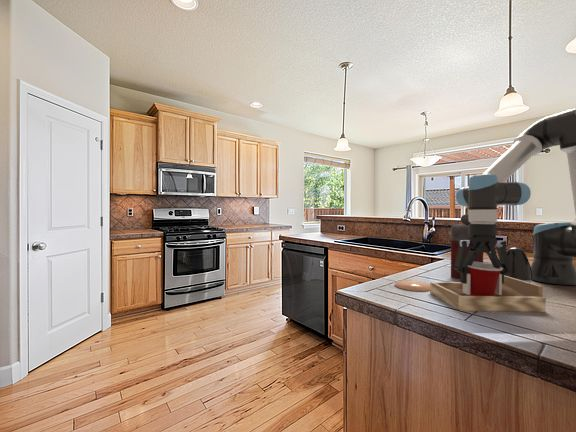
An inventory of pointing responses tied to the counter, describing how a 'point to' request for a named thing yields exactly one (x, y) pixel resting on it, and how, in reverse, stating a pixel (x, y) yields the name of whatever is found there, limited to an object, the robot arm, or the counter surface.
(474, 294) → the plastic cup
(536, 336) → the counter surface
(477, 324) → the counter surface
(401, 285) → the saucer
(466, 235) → the red canister with knob
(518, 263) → the black bullet-shaped dome
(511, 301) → the tray
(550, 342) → the counter surface
